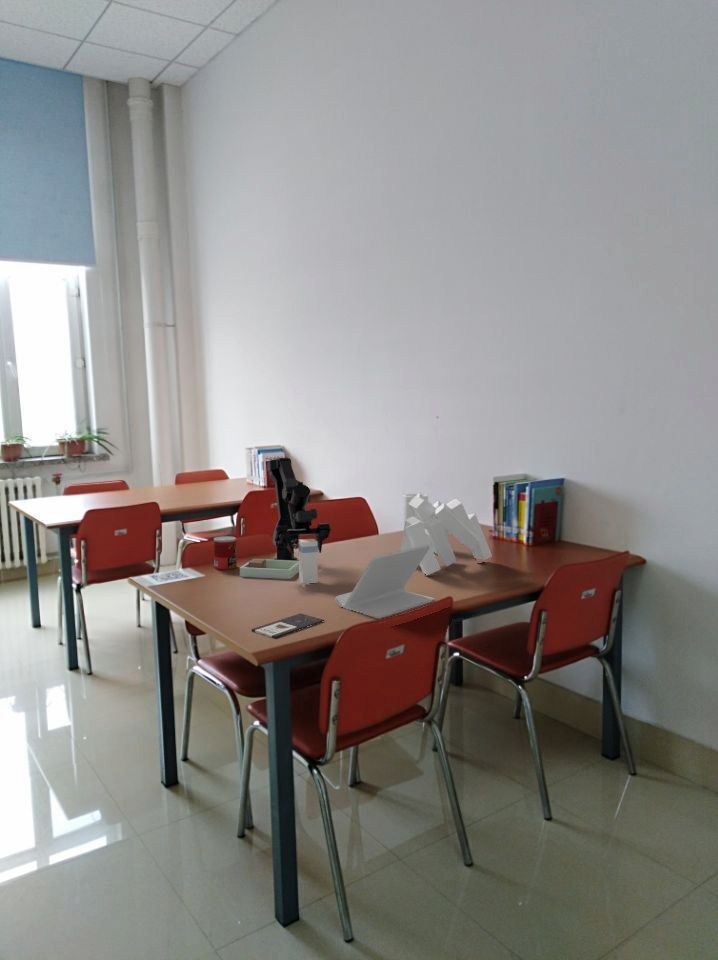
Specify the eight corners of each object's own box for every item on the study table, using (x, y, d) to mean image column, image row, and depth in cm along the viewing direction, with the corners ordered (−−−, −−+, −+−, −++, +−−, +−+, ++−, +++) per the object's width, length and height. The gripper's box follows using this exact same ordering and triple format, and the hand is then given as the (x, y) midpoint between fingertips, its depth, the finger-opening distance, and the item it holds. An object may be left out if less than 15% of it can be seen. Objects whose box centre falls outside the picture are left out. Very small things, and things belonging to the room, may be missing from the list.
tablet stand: (435, 601, 214) (436, 545, 212) (379, 619, 196) (379, 559, 194) (390, 589, 226) (390, 537, 224) (333, 606, 208) (333, 549, 206)
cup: (399, 545, 292) (399, 493, 290) (423, 544, 295) (424, 493, 292) (407, 551, 282) (407, 497, 280) (431, 549, 285) (432, 496, 282)
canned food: (232, 571, 249) (231, 540, 247) (210, 570, 250) (209, 539, 249) (240, 566, 256) (239, 536, 255) (219, 565, 258) (218, 535, 256)
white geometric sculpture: (449, 567, 278) (407, 488, 275) (512, 547, 259) (468, 463, 256) (405, 612, 252) (358, 526, 249) (472, 594, 233) (423, 500, 230)
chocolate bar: (324, 619, 193) (275, 636, 179) (324, 623, 193) (275, 640, 180) (300, 613, 199) (251, 629, 185) (300, 616, 199) (251, 632, 185)
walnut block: (253, 570, 249) (253, 558, 248) (265, 570, 248) (265, 559, 247) (248, 573, 244) (248, 562, 243) (261, 574, 243) (261, 562, 243)
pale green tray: (253, 568, 253) (253, 558, 253) (301, 570, 250) (301, 561, 249) (239, 577, 240) (239, 567, 240) (290, 580, 237) (289, 570, 236)
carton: (299, 580, 236) (298, 539, 235) (313, 579, 238) (313, 538, 236) (302, 584, 231) (302, 542, 230) (317, 583, 233) (317, 541, 231)
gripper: (275, 502, 235) (282, 541, 226) (329, 499, 241) (339, 537, 232) (270, 522, 243) (277, 560, 234) (323, 519, 249) (332, 556, 240)
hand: (307, 553), depth 235 cm, fingers open, 9 cm apart
